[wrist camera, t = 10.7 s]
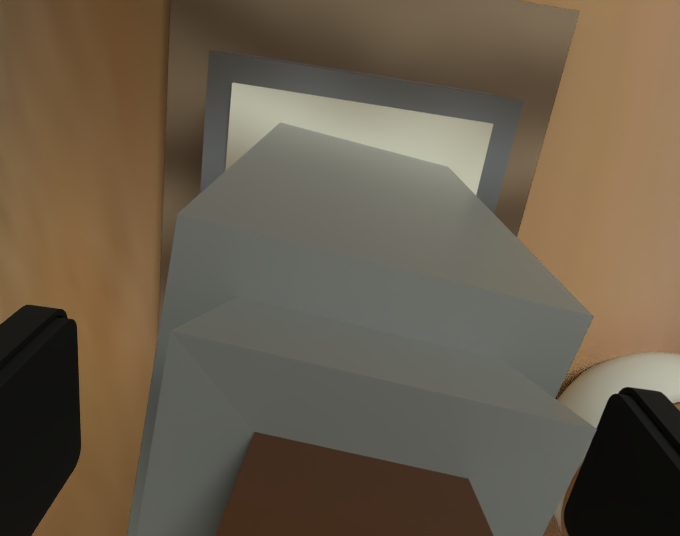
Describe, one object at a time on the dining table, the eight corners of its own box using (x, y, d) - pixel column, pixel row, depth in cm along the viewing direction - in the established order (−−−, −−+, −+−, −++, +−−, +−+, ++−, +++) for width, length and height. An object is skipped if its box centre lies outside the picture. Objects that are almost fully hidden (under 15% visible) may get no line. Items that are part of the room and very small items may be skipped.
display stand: (182, -51, 25) (126, -90, 19) (566, 13, 26) (639, -3, 19) (165, 336, 32) (120, 404, 26) (468, 378, 33) (497, 454, 26)
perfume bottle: (448, 166, 21) (820, 551, 5) (398, 317, 24) (524, 940, 7) (280, 122, 21) (0, 370, 4) (246, 280, 23) (-21, 857, 6)
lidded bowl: (683, 500, 36) (820, 678, 25) (492, 479, 35) (553, 652, 25) (758, 328, 31) (960, 459, 21) (541, 303, 31) (639, 423, 21)
